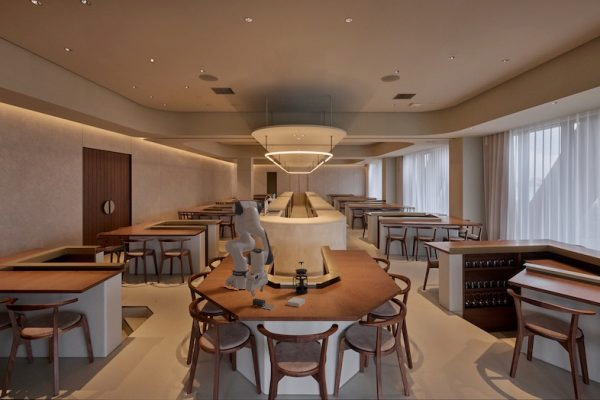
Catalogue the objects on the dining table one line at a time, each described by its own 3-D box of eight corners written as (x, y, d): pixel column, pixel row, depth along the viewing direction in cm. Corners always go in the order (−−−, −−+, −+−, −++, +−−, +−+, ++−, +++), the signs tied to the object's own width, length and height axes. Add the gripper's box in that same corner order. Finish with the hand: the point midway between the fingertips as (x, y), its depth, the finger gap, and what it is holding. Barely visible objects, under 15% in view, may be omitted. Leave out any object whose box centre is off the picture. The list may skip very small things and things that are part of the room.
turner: (251, 306, 206) (251, 300, 206) (256, 303, 211) (256, 297, 211) (270, 310, 199) (270, 304, 199) (275, 306, 205) (275, 300, 205)
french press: (307, 290, 238) (307, 260, 237) (309, 294, 228) (309, 263, 227) (292, 291, 236) (291, 261, 235) (294, 295, 226) (293, 264, 226)
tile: (287, 301, 208) (299, 303, 204) (293, 297, 216) (305, 299, 212) (287, 305, 208) (299, 307, 204) (293, 300, 216) (305, 302, 212)
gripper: (262, 268, 217) (262, 288, 218) (244, 276, 199) (244, 298, 199) (270, 270, 214) (270, 289, 215) (252, 278, 196) (252, 299, 197)
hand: (257, 293), depth 207 cm, fingers open, 8 cm apart
